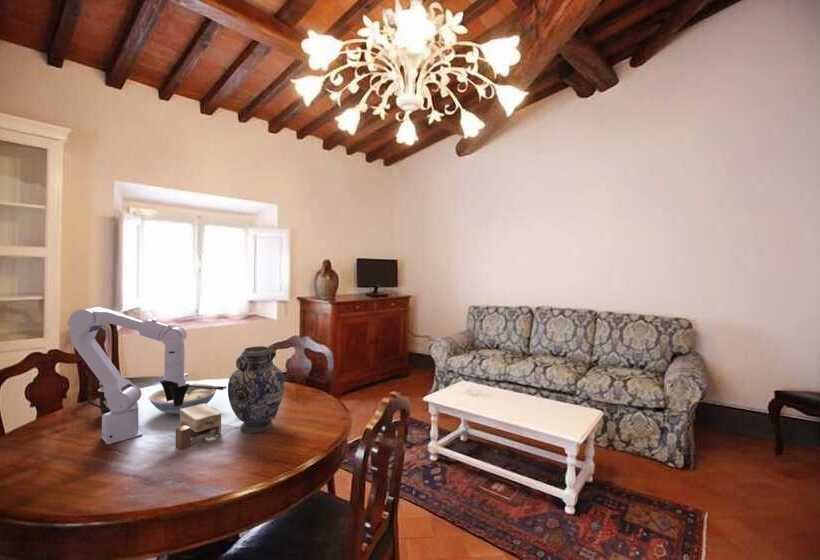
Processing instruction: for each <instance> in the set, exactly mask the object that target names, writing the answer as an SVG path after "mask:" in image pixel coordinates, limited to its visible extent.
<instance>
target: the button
mask: <svg viewBox="0 0 820 560" xmlns="http://www.w3.org/2000/svg"><path fill="white" fill-rule="evenodd" d="M219 435H220V434H217V433H216V434H209V435H206V436H205V439H204V442H206V443H210V442H212V443H213V442H215V441H217V440H219V438H220V436H219Z"/></svg>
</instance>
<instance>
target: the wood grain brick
mask: <svg viewBox="0 0 820 560" xmlns="http://www.w3.org/2000/svg"><path fill="white" fill-rule="evenodd" d="M191 431H192V429H191V427H188V426H183V427H180V426H179V427H177V428H175V449H177V450H180V451H184V450H185V449H187V448H190V447H191V446H192V445H194V444H196V443H198V442H199V443H200V441H203V440H205V436H206V435H209V434H217V433H216V429H212V430H211V429H210V430H207V431H205V432H203V433H201V434H198V435H196V436H193V437H191V436H192V434H191V433H192V432H191Z"/></svg>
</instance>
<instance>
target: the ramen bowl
mask: <svg viewBox="0 0 820 560" xmlns="http://www.w3.org/2000/svg"><path fill="white" fill-rule="evenodd" d="M225 389H227V386H220V385H219V386H215V385H212V384H211V385H210V384H205V383H203V384H202V383H197V384H196V383H195V384H194V383H191V384H189V388H188V389H187V391H186V393H185V396H184V400H183V404H182V405H181V406H176V407H175V405H174V401H173V400H171V401H167V400H166V396H165V392H164V389H159V390H157V391H155V392H153V393H151V394H150V395H149V396H148V400H149V402H150V403H151V404H152V405H153V406H154V407H155V408H156V409H157V410H158V411H160V412H163V413H166V414H173V415H176V416H177V415H179V416H180V409H182V408H187V407H191V406H195V405H199V404H204V403H205V404H207V405H208V403H210V401H211V400H212V399H213V398H214V396H215V395H216V392H217V390H218V391H224V390H225Z"/></svg>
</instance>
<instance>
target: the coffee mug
mask: <svg viewBox="0 0 820 560" xmlns="http://www.w3.org/2000/svg"><path fill="white" fill-rule="evenodd" d="M104 392H105V388H104V386H102V387H100V388H98V389H97V392H90V393H88V394H87V395H86V401H87V402H88V403H89V404H90V405H92V406H94V407H96V408H99V409H100V413H101V416H102V415H103V414H105V413H108V412H110V411H111V410H110V409H109V408H108V405H107V400H106V398H105V397H104ZM92 395H96V396H97V397H98V399H99V404H95V403H94V402H92V401H91V400H90V399H89V397H90V396H92Z"/></svg>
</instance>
